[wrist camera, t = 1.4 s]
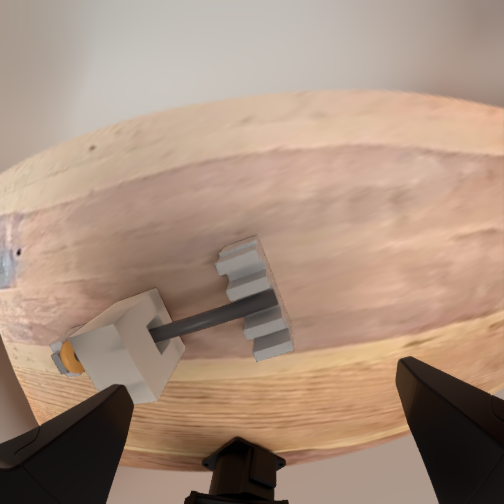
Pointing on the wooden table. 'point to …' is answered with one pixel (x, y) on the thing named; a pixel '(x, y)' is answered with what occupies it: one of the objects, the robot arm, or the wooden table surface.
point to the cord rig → (222, 309)
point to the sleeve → (129, 347)
